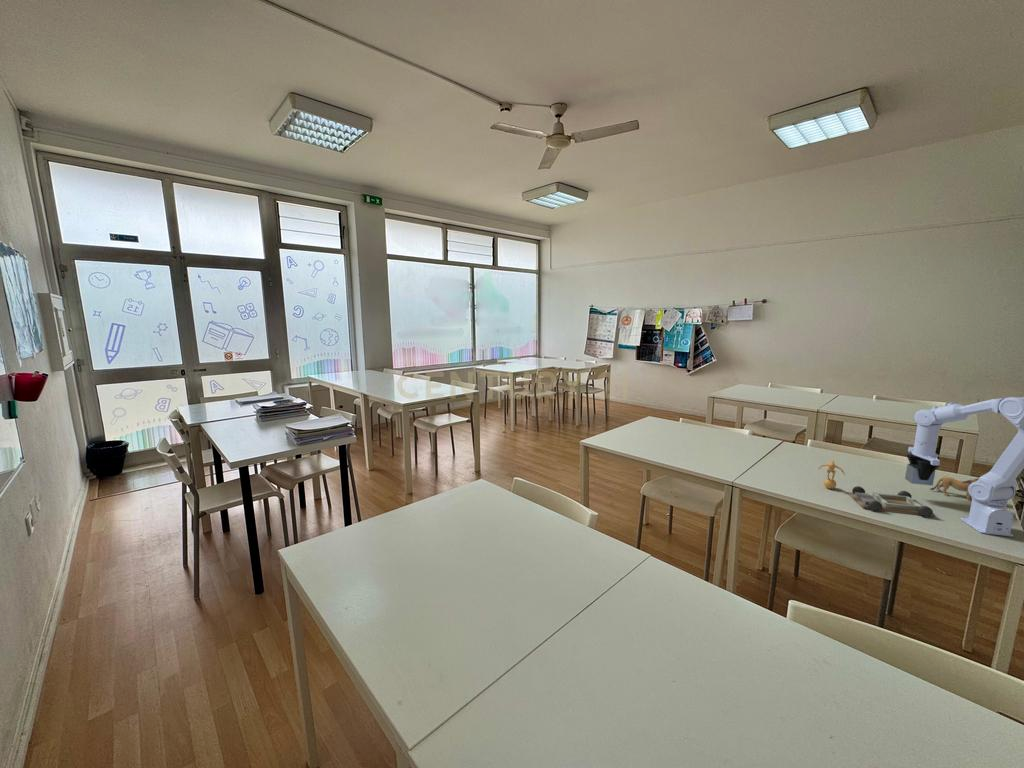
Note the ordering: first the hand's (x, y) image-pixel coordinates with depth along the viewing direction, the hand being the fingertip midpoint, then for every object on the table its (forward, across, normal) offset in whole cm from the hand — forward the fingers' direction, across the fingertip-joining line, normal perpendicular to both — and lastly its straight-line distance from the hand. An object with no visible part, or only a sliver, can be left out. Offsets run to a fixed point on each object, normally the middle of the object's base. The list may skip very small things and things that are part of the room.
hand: (919, 477), depth 152 cm
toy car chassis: (+9, -9, +12) cm, 17 cm away
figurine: (+9, +1, +27) cm, 28 cm away
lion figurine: (+9, +7, -16) cm, 20 cm away
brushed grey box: (+2, 0, 0) cm, 2 cm away
